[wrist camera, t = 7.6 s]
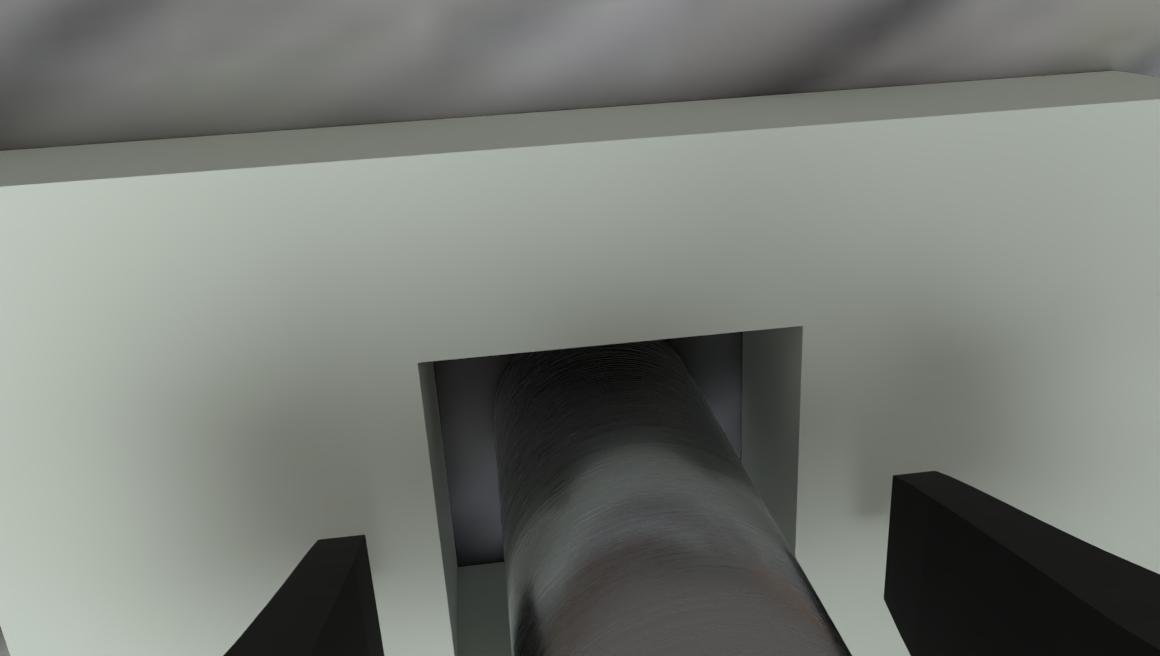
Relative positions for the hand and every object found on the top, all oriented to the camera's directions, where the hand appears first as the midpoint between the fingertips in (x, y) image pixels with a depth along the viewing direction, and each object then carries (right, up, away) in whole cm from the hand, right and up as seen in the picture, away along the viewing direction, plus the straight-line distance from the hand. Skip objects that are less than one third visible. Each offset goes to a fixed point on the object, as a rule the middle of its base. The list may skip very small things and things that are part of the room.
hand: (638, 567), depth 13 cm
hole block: (-1, +2, +4) cm, 4 cm away
